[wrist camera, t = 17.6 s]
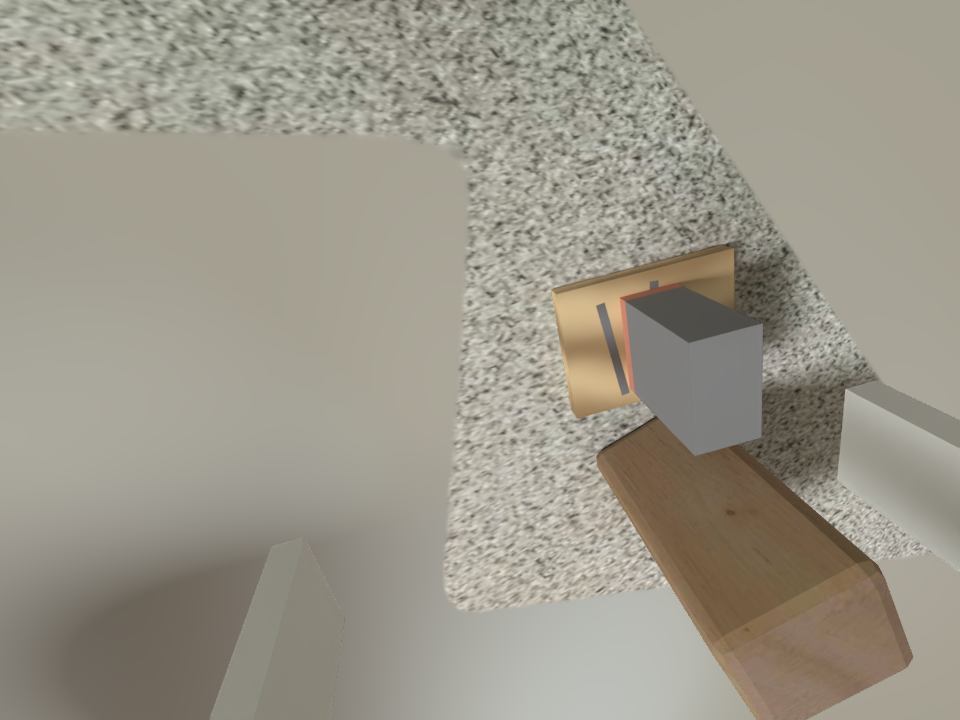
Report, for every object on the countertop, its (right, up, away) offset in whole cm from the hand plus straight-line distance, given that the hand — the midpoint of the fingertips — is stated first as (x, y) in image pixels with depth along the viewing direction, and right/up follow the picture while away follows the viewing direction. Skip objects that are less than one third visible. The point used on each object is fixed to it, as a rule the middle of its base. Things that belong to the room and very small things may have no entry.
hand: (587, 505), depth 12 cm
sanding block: (+11, +5, +27) cm, 30 cm away
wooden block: (+14, -6, +34) cm, 37 cm away
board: (+11, +6, +28) cm, 31 cm away
